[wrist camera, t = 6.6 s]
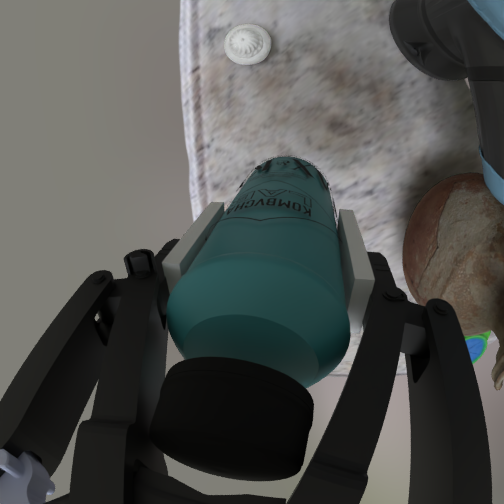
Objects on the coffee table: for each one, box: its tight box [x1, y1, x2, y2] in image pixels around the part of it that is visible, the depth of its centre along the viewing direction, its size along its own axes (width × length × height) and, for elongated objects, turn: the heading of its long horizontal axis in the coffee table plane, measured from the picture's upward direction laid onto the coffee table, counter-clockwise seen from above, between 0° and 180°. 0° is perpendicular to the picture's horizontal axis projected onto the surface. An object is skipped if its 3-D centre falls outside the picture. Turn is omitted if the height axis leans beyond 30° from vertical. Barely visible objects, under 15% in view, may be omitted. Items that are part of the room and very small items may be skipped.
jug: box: [403, 173, 504, 390], centre depth 27 cm, size 22×22×30 cm
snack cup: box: [464, 331, 491, 364], centre depth 45 cm, size 16×10×10 cm
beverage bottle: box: [149, 155, 350, 481], centre depth 14 cm, size 6×7×20 cm
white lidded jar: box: [224, 24, 271, 65], centre depth 30 cm, size 6×6×7 cm
